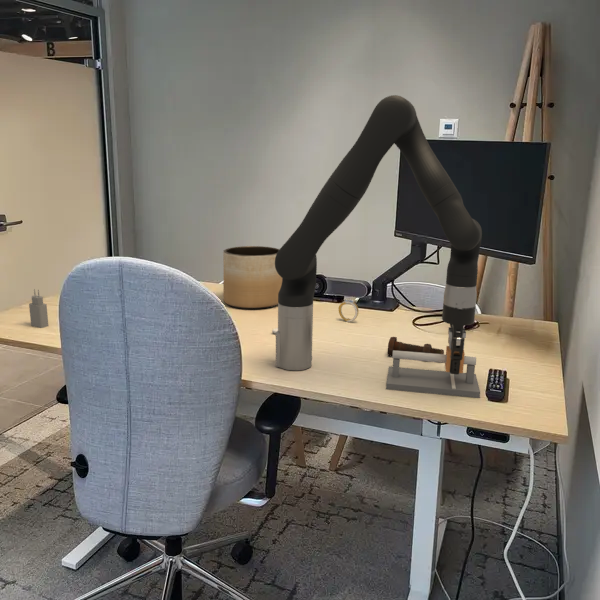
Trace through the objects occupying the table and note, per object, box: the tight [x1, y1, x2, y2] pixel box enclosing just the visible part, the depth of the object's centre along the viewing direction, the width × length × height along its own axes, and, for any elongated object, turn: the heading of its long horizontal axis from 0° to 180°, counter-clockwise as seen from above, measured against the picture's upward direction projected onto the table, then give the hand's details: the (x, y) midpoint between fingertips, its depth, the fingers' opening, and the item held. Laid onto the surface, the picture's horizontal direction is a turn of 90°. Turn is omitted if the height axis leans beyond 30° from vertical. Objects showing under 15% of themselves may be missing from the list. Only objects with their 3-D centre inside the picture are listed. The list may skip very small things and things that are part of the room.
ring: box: [338, 298, 359, 323], centre depth 197 cm, size 7×3×8 cm, turn 53°
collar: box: [444, 345, 466, 373], centre depth 143 cm, size 4×5×5 cm
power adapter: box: [28, 288, 49, 329], centre depth 186 cm, size 3×5×12 cm, turn 61°
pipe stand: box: [385, 350, 481, 399], centre depth 145 cm, size 22×12×8 cm, turn 79°
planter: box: [222, 245, 282, 310], centre depth 218 cm, size 22×22×20 cm
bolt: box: [386, 336, 445, 357], centre depth 164 cm, size 6×5×15 cm
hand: (453, 369), depth 144 cm, fingers closed on collar, 5 cm apart
